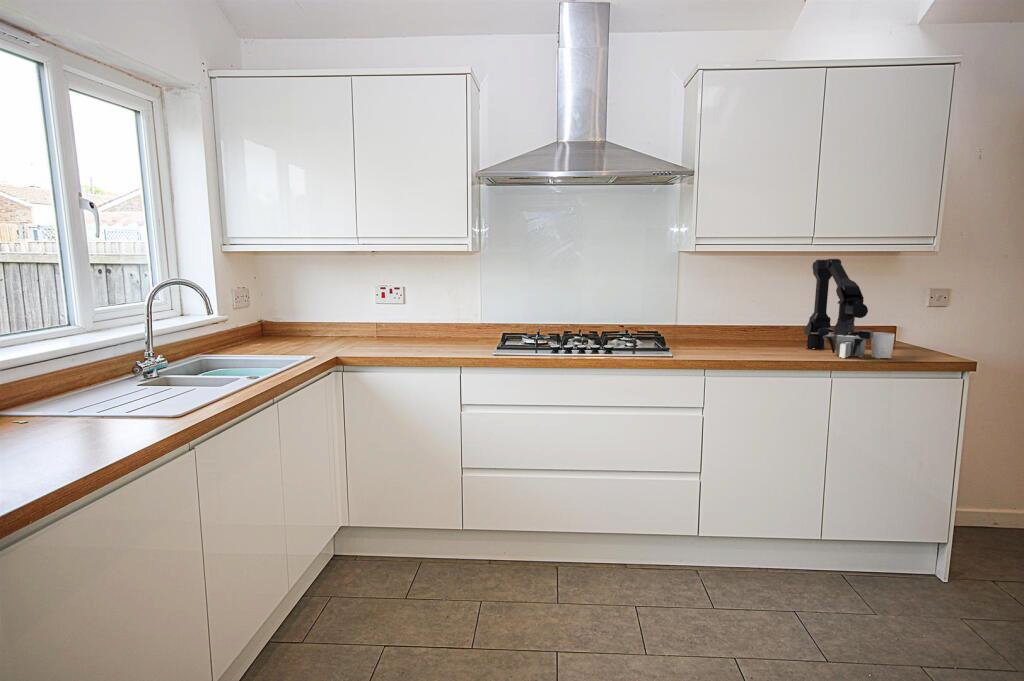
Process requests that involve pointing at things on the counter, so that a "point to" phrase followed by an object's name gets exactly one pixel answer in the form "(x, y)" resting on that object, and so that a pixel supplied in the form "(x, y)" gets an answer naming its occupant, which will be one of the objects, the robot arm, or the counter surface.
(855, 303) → the robot arm
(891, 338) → the white cup
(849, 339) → the dispenser
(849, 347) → the white rectangular block
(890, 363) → the counter surface
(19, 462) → the counter surface
